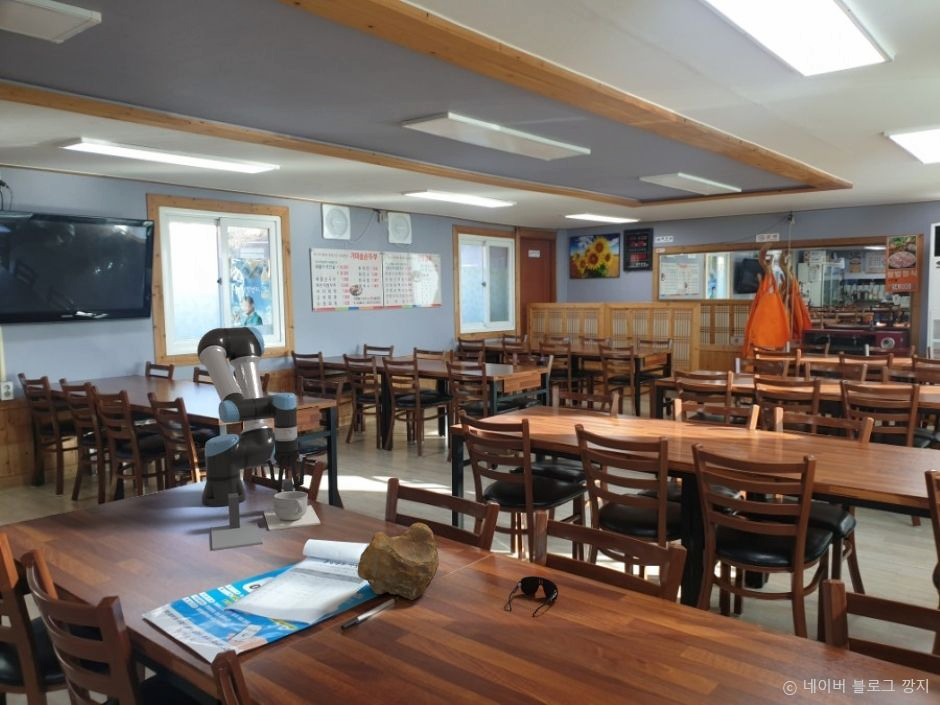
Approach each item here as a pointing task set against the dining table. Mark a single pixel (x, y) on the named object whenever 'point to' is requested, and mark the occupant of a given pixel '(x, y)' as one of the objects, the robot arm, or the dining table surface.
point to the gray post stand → (235, 529)
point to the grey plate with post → (278, 523)
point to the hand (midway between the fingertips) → (288, 506)
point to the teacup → (290, 505)
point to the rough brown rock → (400, 562)
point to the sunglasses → (531, 586)
